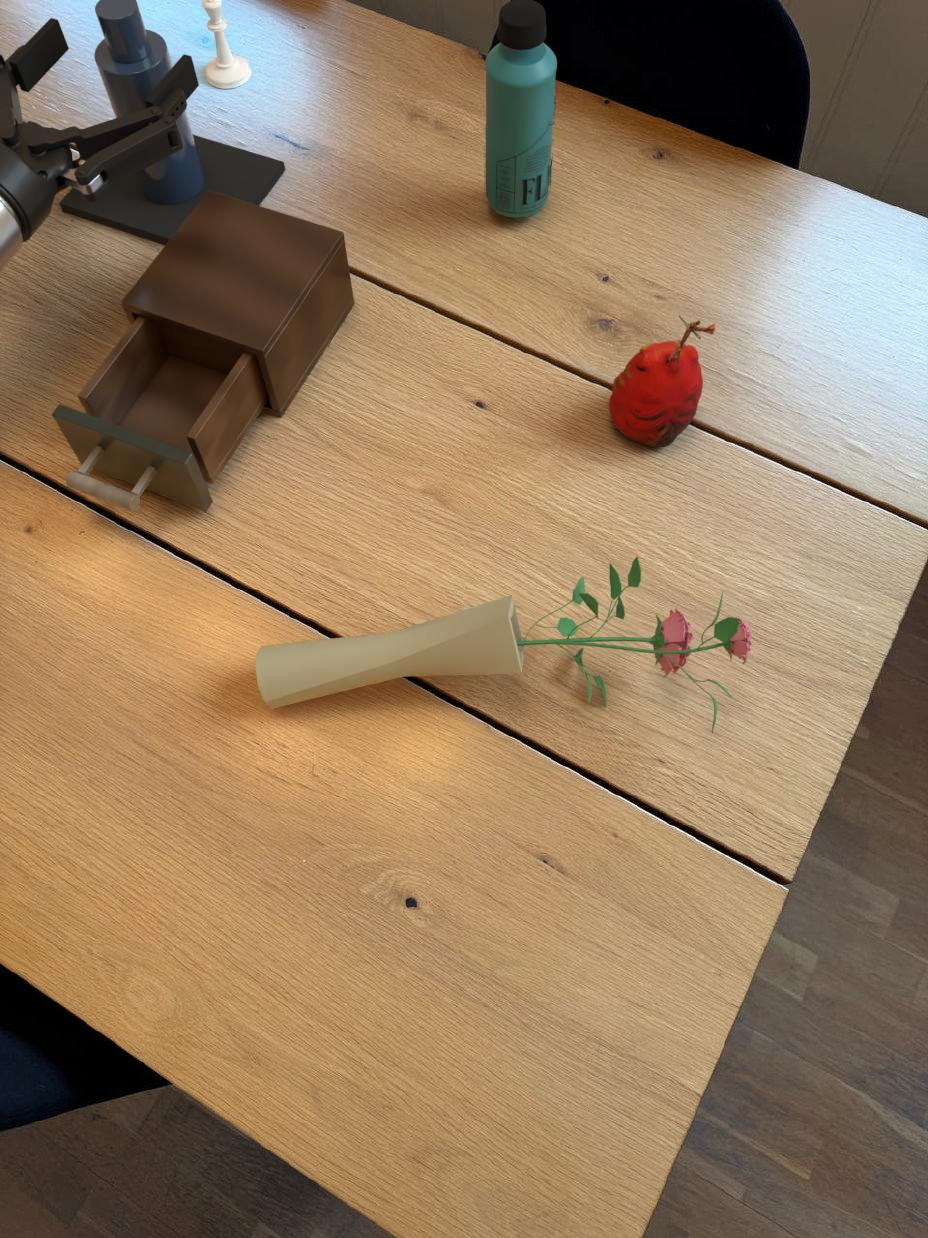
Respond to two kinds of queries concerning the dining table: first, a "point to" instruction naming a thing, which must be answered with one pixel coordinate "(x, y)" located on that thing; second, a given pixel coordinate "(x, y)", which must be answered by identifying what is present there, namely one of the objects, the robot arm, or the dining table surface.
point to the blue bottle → (144, 95)
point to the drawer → (162, 415)
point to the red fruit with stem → (659, 390)
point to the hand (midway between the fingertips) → (125, 50)
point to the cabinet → (251, 287)
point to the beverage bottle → (519, 111)
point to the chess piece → (223, 53)
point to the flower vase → (469, 648)
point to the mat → (158, 222)
